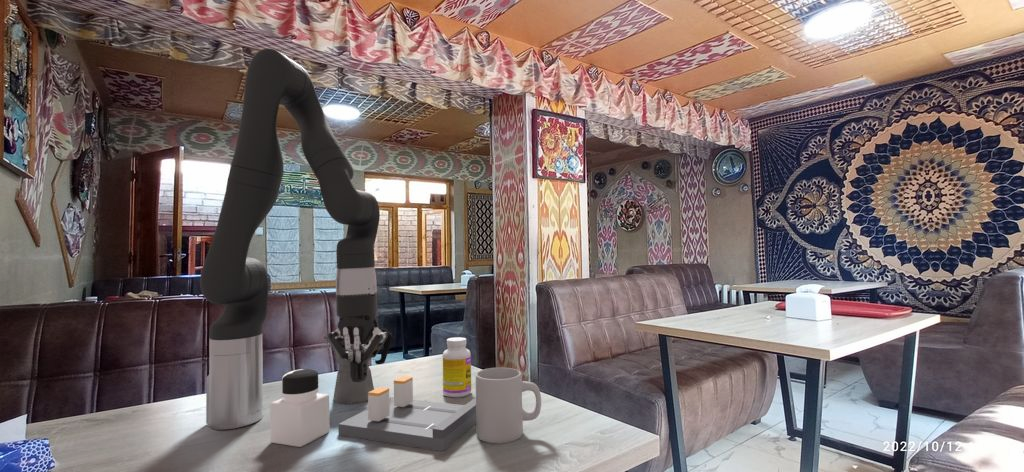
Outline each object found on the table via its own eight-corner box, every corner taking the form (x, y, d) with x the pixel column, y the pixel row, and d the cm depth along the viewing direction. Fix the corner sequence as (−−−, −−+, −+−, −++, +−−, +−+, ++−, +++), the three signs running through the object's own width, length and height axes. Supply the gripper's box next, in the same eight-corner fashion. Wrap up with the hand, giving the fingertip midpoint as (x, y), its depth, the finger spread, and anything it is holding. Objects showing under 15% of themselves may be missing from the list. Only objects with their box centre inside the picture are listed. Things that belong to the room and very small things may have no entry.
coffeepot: (319, 406, 98) (318, 324, 99) (329, 393, 107) (328, 318, 108) (391, 401, 101) (390, 321, 101) (394, 388, 110) (394, 315, 111)
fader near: (368, 420, 83) (367, 392, 83) (379, 414, 86) (378, 387, 86) (378, 421, 82) (378, 393, 82) (389, 415, 85) (389, 388, 85)
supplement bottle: (469, 398, 102) (468, 341, 102) (440, 398, 102) (439, 342, 102) (472, 389, 108) (471, 336, 109) (445, 389, 108) (444, 336, 109)
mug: (472, 443, 77) (471, 379, 78) (480, 424, 86) (479, 367, 86) (541, 445, 76) (539, 380, 77) (542, 425, 85) (541, 367, 85)
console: (338, 434, 82) (338, 415, 82) (390, 406, 97) (390, 390, 97) (443, 451, 75) (442, 430, 75) (482, 417, 89) (482, 399, 90)
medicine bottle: (330, 432, 84) (329, 367, 84) (300, 448, 77) (300, 378, 77) (300, 427, 86) (300, 365, 87) (269, 443, 79) (269, 375, 80)
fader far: (393, 405, 90) (393, 380, 91) (403, 400, 93) (402, 376, 94) (403, 407, 90) (403, 381, 90) (412, 401, 93) (412, 377, 93)
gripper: (315, 293, 85) (317, 384, 85) (372, 293, 81) (375, 389, 80) (342, 289, 92) (345, 374, 92) (396, 289, 88) (399, 377, 87)
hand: (359, 381), depth 86 cm, fingers closed
